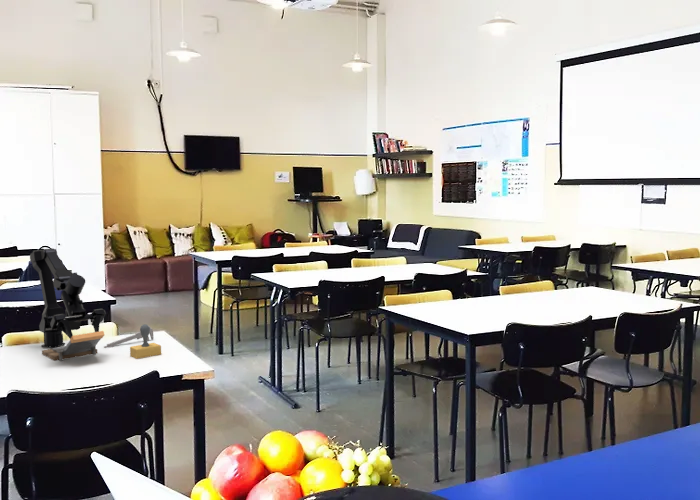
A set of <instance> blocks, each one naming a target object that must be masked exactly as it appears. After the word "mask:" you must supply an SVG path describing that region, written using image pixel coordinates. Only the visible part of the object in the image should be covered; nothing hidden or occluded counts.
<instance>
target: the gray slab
mask: <svg viewBox="0 0 700 500" xmlns="http://www.w3.org/2000/svg"><path fill="white" fill-rule="evenodd" d="M104 336H105V332H104V330H99V332H95V331H94V332H89V333H80V334H74V335H73V336H72V337H71V339H70V338H69V341H68V342H67V344H65V346H66V347H65V348H64V350H63V351H62V356H63V355H68V354H74V353H80V352H86V351H92V350H93V348H94V347H95V346H96V345H98V343H99V342H100V341H101V340H102V339H103V337H104Z"/></svg>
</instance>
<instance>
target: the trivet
mask: <svg viewBox="0 0 700 500" xmlns="http://www.w3.org/2000/svg"><path fill="white" fill-rule="evenodd" d="M65 347H66V345H62V346H58V347H55V348H52V347H51V348H49V349H42V350H41V355H43V356H44V357H46V358H49V359H50V360H52V361H54V362H55V361H59V362H63V361H64V360H66V359H67V360H68V359H73V358H78V357H84V356H91V355H92V356H96V355H97V354H98V349H97V348H96V346H95V347H94V348H93V350H92V351H86V352H80V353H74V354H68V355H63V356H62V351H63V350H64V348H65Z"/></svg>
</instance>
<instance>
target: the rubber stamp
mask: <svg viewBox="0 0 700 500" xmlns="http://www.w3.org/2000/svg"><path fill="white" fill-rule="evenodd" d="M149 326H150V325H148V324H142V325H141V326H140V328H139V332H141V335H142V337H143V338H142V339H143V340H142V341H143V343H142V344H138V345H132V346H130V347H129V350H130V351H129V352H130V353H129V356H130V357H131V358H134V359H135V360H136V359H143V358H149V357H150V358H151V357H154V356H159V355H162V345H160V344H158V343H155V342H150V343H148V341H147V338H148V337H149V335H150V333H149V332H150V328H151V327H150V328H149Z"/></svg>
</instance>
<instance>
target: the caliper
mask: <svg viewBox="0 0 700 500" xmlns="http://www.w3.org/2000/svg"><path fill="white" fill-rule="evenodd" d="M148 326H149V328H150V332H149V335H150V337H149V336H148V338H147V342H149V341H151V340H152V341H154V332H153V331H154V330H153V327H151V326H150V325H148ZM141 339H143V337H142V335H141V332H140V331H138V332H136V333H135V334H132V335H129V336H125V337H124V338H121V339H117V340H115V341H112V342H110V343H109V342H108V343H106V345H104V346H103V348H105V349H106V348H113V347H116V346H119V345H121V344H124V343H127V342H129V341H132V340H141ZM150 339H151V340H150Z"/></svg>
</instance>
